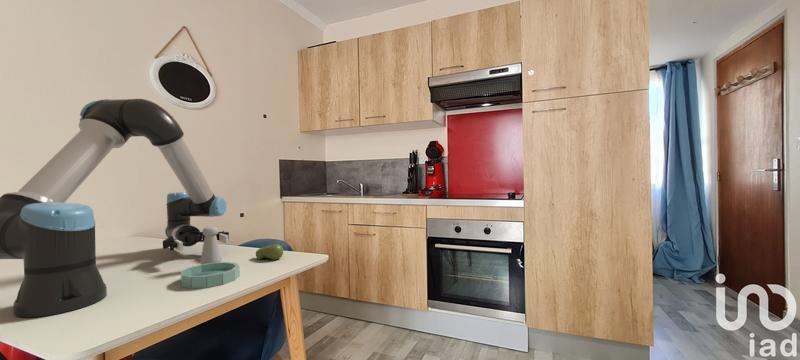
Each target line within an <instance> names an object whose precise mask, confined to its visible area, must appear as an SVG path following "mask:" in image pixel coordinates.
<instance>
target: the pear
mask: <svg viewBox="0 0 800 360" xmlns="http://www.w3.org/2000/svg"><path fill="white" fill-rule="evenodd" d="M283 255H284V248H283V246H282V245H280V244H278V243H274V244H268V245H266V246H263V247H260V248H259V249H257V250H256V251H255V256H256V260H262V259H264V258H265V259H266V258H267V259H269V260H271V261H272V260H273V261H276V260H279V259H280V258H282V257H283Z"/></svg>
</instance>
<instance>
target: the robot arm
mask: <svg viewBox="0 0 800 360" xmlns="http://www.w3.org/2000/svg"><path fill="white" fill-rule="evenodd" d="M79 116H80V118H79V123H78V128H79V131H78V132H77V133H76V134H75V135H74V136H73V137H72V138H71V139H70V140H69V141H68V142H67V143H66V144H65V145H64V146H62V148H60V150H59V151H58V152H56V154H54V156H53V157H52V158H51V159H50V160H48V162H47V163H45V165H43V166H42V167H41V168H40V170H38V171H37V172H36V173H35V174H34V175H33V176H32V177H31V178H30V179H29V180H28V181H27V182H26V183H25V184H24V185H23V186H22V187H21V188H20V189H18V191H16V192H6V193H3V195H1V196H0V260H23V274H24V275H23V276H24V277H23V280H22V282H21V284H20V287H19V290H18V291H17V296H16V299H14V302H13V306H12V308H13V309H12V310H13V316H15V317H18V318H36V317H46V316H52V315H58V314H62V313H66V312H71V311H74V310H78V309H82V308H85V307H87V306H90V305H93V304H96V303H98V302H100V301H102V300H103V299H105V297H107V295H108V293H107V291H108V290H107V289H108V288H107V284H106V283H105V282H104V279H103V277H102V275H101V273H100V271H99V268H98V267H97V261H96V260H97V259H96V257H97V256H96V255H97V254H96V219H95V217H94V216H95V214H94V210H93V209H92V208H91V206H89V205H87V204H82V203H78V202H77V203H76V202H67V200H68V199H70V197H72V195H73V194H74V193H75V192H76V191H77V189H79V187H80V186H81V185H82V183H84V182H85V180H86V179H87V178H88V177H89V175H91V174H92V172H93V171H94V170H95V169H96V168H97V167H98V166H99V164H100V163H101V162H102V161H103V160H104V159H105V158H106V156H107V155H108V154H109V153H110V152H111V151H112V150H113V149H119V148H122V147H123V146H124V145H125V144H126V143H127V142H128V140H130V138H132V137H143V138H146V139H148V140H149V142H150V143H151V146H154V147H155V148H158V149H159V151H160V152H161V154H162V156H163V158H164V159H165V160H166V162H167V164H168V165H169V167H170V168H171V170H172V171H173V173H174V174H175V176H176V177H177V180H178V181H179V182H180V184H181V185H182V187H183V189H184V190H185V192H184V191H183V192H181V191H179V192H170V193H169V192H168V193H167V196H166V217H167V218H166V219H167V221H166V224H167V225H166V227H165V229H164V231H165V236H166V237H167V238H165V239H163V240H162V249H163V250H166V249H168V248H169V251H174V250H175V249H176V250H177V251H178V252H183V251H184V247H188V248H189V247H193V246H195V245H196V244H198V243H204V238H205V235H203V231H200V229H199V228H197V226H194V225H192V224H191V217H201V218H202V217H203V218H204V217H206V218H207V217H209V218H213V217H214V218H215V217H222V216H223V215H224V214H225V213H226V211H227V207H228V205H227V201H226V199H225V198H223V197H220V196H216V195H215V194H214V192H213V190H212V188H211V186H210V185H209V183H208V181H207V179H206V177H205V176H204V174H203V172H202V170H201V169H200V166H199V165H198V164H197V162H196V160H195V157H194V156H193V154H192V153H191V151H190V149H189V147H188V145H187V143H186V142H185V140H184V136H185V133H184V132H183V130H182V128H181V125H180V124H179V123H178V122H177V120H176V119H175V118H174V117H173V116H172V114H170V113H169V112H168V111H167V110H166V109H165V108H163V107H162V106H160V105H159V104H157V102H156V103H155V102H153V101H151V100H149V99H144V98H132V99H131V98H129V99H127V98H126V99H123V98H122V99H108V98H107V99H99V100H93V101H91V102H89V103H86V104H85V105H84V106H83V107H82V108H81V110H80V113H79ZM216 237H217V241H219V242H221V243H223V244H229V239H230V232H228V231H224V230H223V231H218V234H216Z"/></svg>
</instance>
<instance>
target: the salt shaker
mask: <svg viewBox="0 0 800 360" xmlns="http://www.w3.org/2000/svg"><path fill="white" fill-rule="evenodd" d="M202 232H203V235H205V238H204V242H203V244H202V245H203V246H202V250H201V256H200V265H201V264H208V263H215V262H223V260H222V254H221V251H220V247H219V242H218V240H217V237H216V234H218V232H219V228H218V227H217V226H206V227H203V229H202Z"/></svg>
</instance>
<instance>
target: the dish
mask: <svg viewBox="0 0 800 360" xmlns="http://www.w3.org/2000/svg"><path fill="white" fill-rule="evenodd" d="M239 277H240V265H239V264H238V263H237V262H231V261H221V262H215V263H208V264H201V263H200V264H197V265H195V266H191V267H188V268H186V269H183V270H182V271H180V284H181V285H180V286H181V287H183V288H187V289H207V288H213V287H218V286H223V285H226V284H228V283H231V282H234V281H236V280H237V279H238V278H239Z"/></svg>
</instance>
